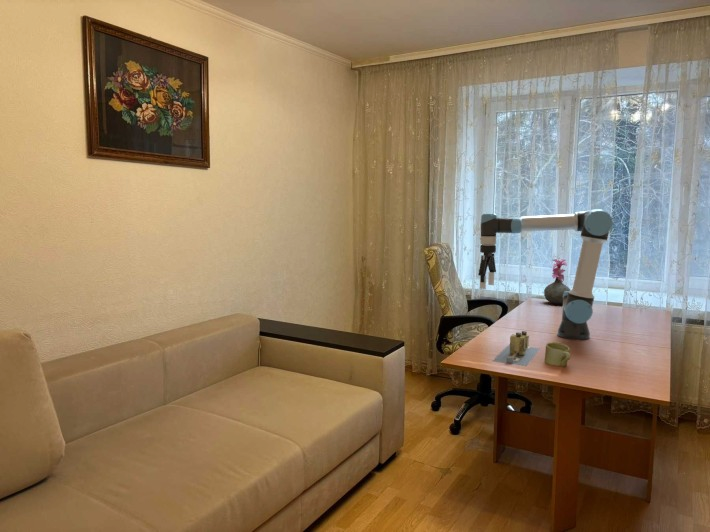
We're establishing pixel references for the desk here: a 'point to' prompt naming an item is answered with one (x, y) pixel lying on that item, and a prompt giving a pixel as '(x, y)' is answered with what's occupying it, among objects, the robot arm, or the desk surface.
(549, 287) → the vase
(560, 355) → the mug
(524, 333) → the rail
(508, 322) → the desk surface
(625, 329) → the desk surface
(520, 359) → the board
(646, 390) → the desk surface
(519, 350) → the trammel head
